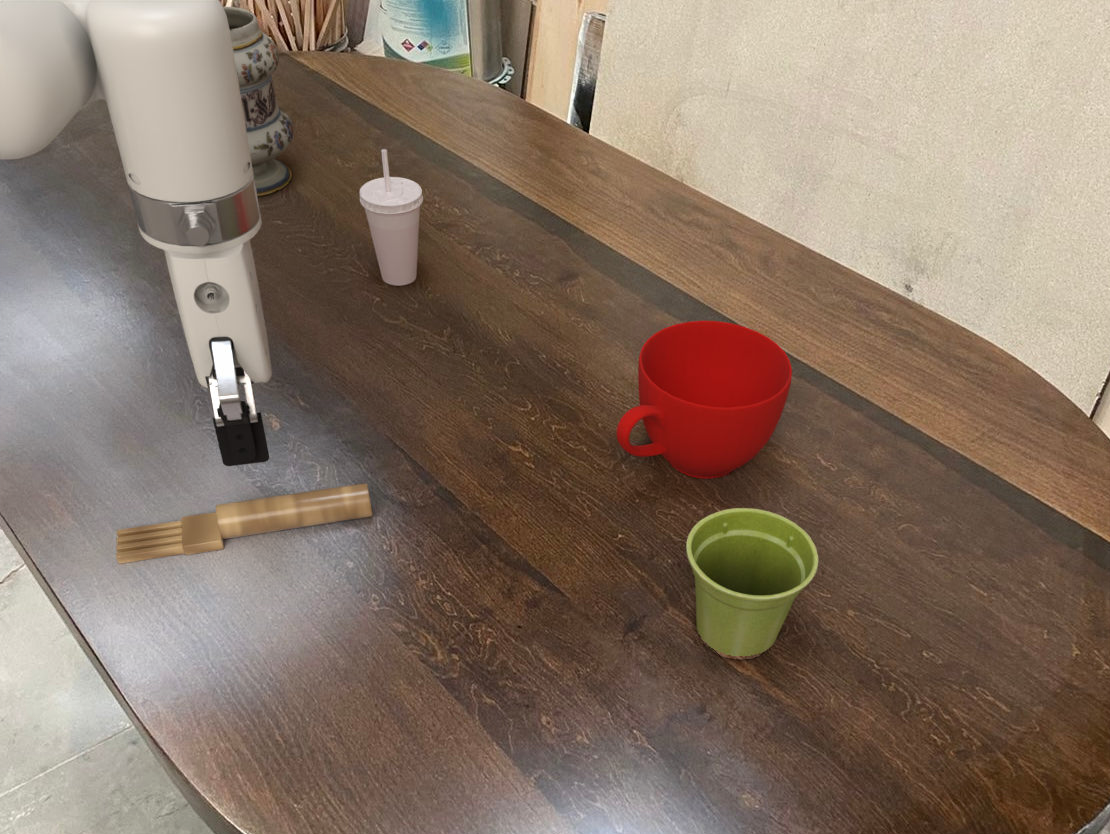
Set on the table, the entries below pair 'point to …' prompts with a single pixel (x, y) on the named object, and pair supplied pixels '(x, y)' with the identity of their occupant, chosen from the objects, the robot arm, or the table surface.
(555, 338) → the table surface
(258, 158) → the apothecary jar
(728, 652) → the plant pot
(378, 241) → the smoothie
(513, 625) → the table surface
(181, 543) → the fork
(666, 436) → the ceramic cup
